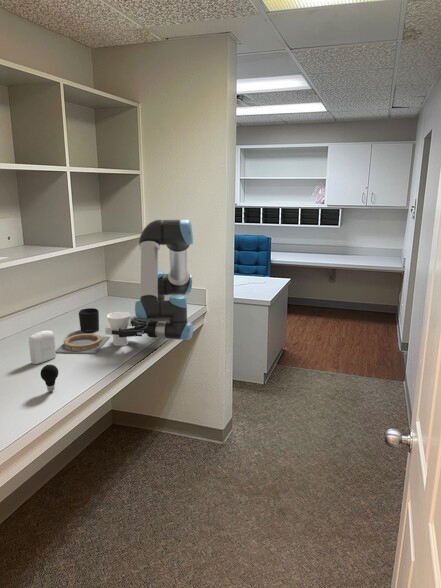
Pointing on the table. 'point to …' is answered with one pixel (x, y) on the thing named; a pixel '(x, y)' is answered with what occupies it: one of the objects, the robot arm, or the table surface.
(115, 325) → the cup
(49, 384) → the light bulb
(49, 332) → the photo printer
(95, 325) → the pen holder
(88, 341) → the collar mat
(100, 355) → the table surface
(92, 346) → the collar ring
